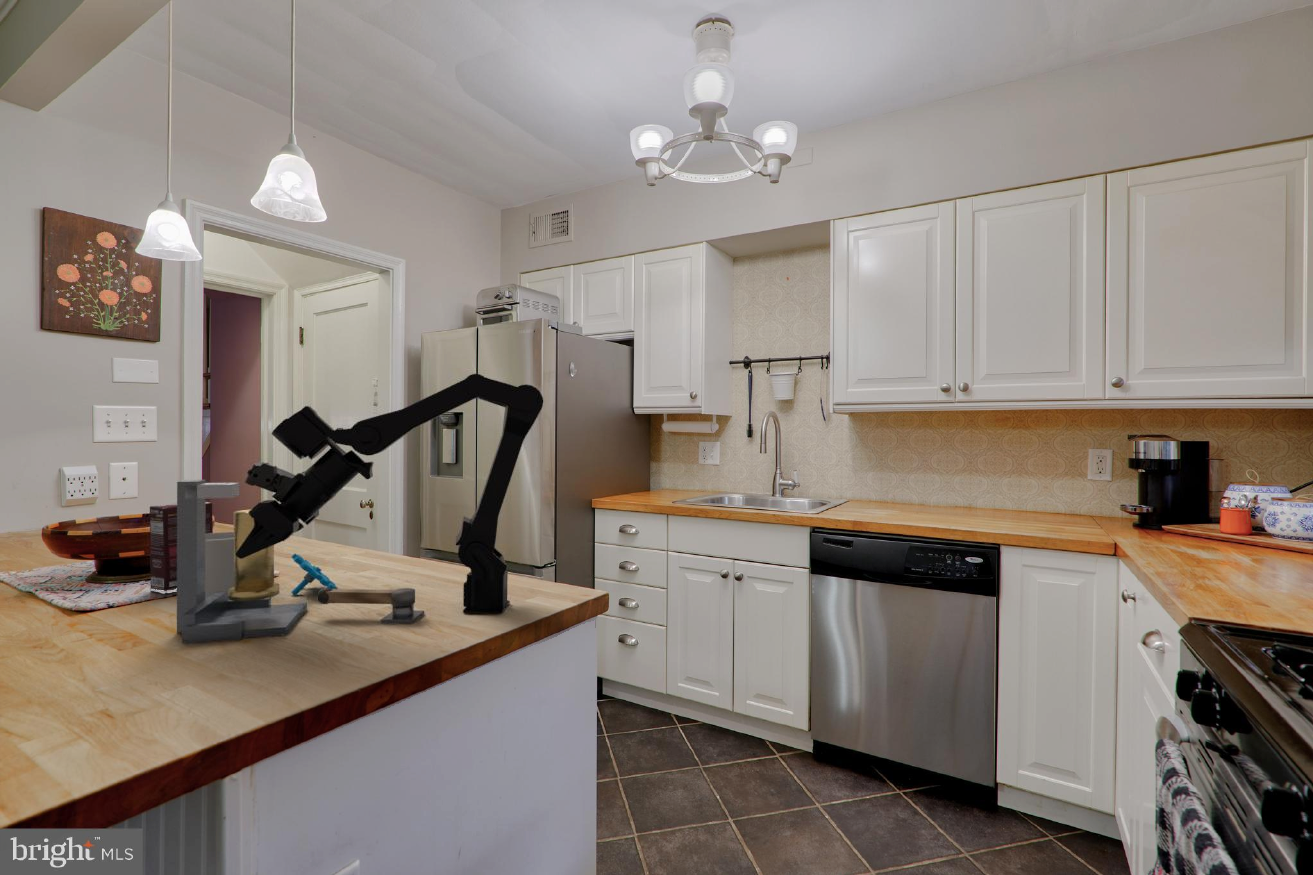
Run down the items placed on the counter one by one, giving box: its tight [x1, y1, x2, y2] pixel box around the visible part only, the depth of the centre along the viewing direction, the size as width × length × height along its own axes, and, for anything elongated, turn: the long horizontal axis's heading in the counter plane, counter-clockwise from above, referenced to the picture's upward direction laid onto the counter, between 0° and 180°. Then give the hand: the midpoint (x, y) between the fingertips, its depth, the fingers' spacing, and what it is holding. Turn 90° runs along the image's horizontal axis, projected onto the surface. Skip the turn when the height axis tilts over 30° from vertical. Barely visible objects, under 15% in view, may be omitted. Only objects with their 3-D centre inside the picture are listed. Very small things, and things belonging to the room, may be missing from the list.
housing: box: [229, 509, 280, 601], centre depth 96 cm, size 7×7×13 cm
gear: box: [290, 553, 339, 596], centre depth 115 cm, size 11×6×10 cm
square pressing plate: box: [380, 603, 425, 625], centre depth 101 cm, size 5×5×2 cm
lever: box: [316, 587, 416, 607], centre depth 101 cm, size 16×4×3 cm, turn 90°
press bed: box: [176, 479, 308, 644], centre depth 96 cm, size 16×14×22 cm
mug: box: [205, 531, 234, 600], centre depth 113 cm, size 12×8×11 cm
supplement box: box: [149, 501, 214, 591], centre depth 116 cm, size 9×5×16 cm, turn 157°
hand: (244, 553), depth 96 cm, fingers closed on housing, 5 cm apart
